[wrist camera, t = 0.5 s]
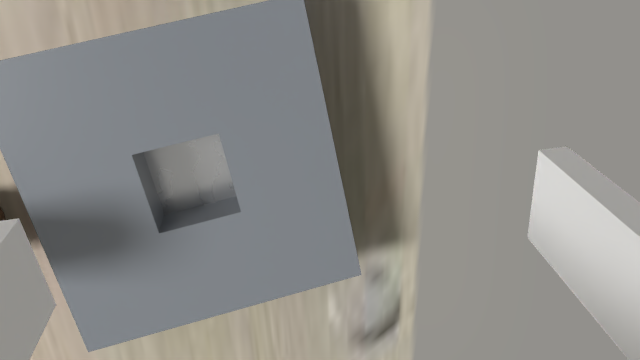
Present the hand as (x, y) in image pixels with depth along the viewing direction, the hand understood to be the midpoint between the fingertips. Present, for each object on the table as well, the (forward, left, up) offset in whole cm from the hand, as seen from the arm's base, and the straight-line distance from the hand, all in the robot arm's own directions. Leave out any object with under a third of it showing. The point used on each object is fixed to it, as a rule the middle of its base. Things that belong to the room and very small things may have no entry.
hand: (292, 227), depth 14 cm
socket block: (+4, -5, -26) cm, 27 cm away
